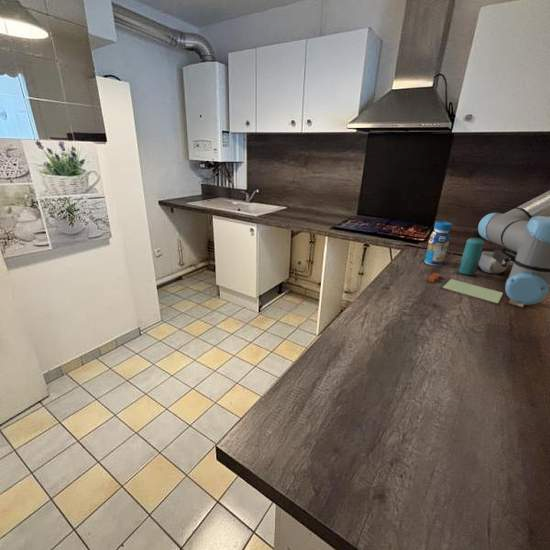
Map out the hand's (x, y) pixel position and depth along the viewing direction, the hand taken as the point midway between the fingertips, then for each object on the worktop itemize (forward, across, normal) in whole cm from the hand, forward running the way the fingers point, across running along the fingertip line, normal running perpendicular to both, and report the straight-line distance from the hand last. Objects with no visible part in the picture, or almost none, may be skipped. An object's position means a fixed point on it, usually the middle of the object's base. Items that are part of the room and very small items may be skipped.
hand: (537, 255), depth 90 cm
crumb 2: (+10, -28, -20) cm, 36 cm away
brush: (+10, 0, -21) cm, 23 cm away
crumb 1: (+6, -27, -19) cm, 34 cm away
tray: (+8, -14, -21) cm, 26 cm away
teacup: (+39, -13, -21) cm, 46 cm away
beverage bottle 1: (+32, -35, -21) cm, 52 cm away
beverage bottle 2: (+26, -20, -21) cm, 39 cm away
